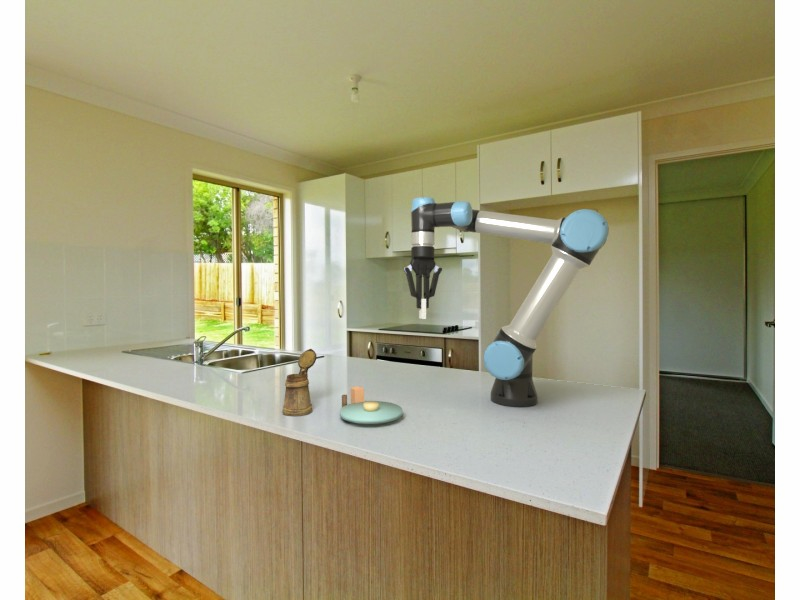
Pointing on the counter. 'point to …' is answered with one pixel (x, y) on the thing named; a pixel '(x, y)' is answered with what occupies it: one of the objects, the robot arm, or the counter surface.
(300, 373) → the wooden mug
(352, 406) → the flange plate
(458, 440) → the counter surface
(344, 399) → the dowel
